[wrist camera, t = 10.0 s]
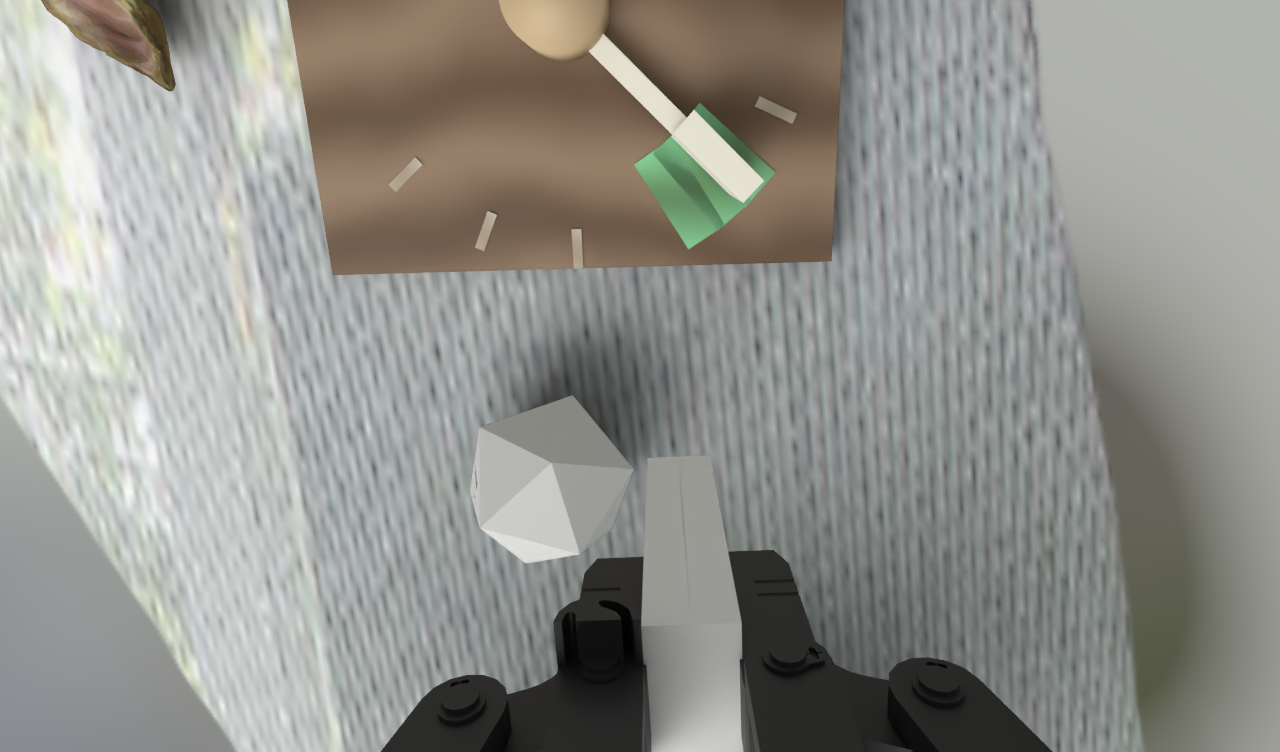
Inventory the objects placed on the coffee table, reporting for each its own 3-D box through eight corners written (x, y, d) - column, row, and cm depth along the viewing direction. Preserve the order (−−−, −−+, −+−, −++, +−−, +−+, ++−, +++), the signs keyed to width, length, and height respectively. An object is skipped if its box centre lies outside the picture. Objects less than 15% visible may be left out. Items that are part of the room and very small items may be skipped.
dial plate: (824, 257, 37) (831, 261, 36) (344, 270, 38) (332, 275, 37) (841, -90, 32) (850, -102, 31) (291, -65, 33) (274, -75, 32)
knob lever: (770, 151, 34) (793, 150, 28) (706, 218, 35) (715, 231, 29) (557, -68, 31) (534, -117, 26) (495, 13, 32) (460, -18, 27)
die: (566, 347, 40) (428, 418, 33) (683, 435, 37) (556, 532, 30) (543, 445, 45) (419, 524, 38) (644, 530, 42) (528, 631, 35)
